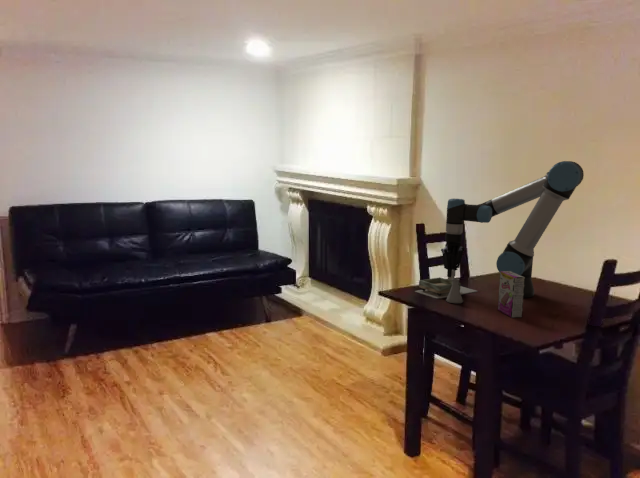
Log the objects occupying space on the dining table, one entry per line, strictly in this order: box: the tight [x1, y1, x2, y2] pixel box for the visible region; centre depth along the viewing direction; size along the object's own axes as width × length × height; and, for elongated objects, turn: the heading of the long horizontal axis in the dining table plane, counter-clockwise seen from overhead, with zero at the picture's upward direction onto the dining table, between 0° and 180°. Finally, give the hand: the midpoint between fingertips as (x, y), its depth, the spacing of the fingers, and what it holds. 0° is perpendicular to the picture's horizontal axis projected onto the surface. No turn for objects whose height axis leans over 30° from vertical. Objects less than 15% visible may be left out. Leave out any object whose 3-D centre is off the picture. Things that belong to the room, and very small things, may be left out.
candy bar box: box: [497, 271, 525, 319], centre depth 230 cm, size 11×5×16 cm, turn 12°
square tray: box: [418, 277, 462, 296], centre depth 262 cm, size 13×13×5 cm
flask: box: [445, 277, 464, 304], centre depth 247 cm, size 7×7×10 cm
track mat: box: [414, 285, 478, 300], centre depth 265 cm, size 14×26×1 cm, turn 123°
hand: (450, 283), depth 266 cm, fingers closed
